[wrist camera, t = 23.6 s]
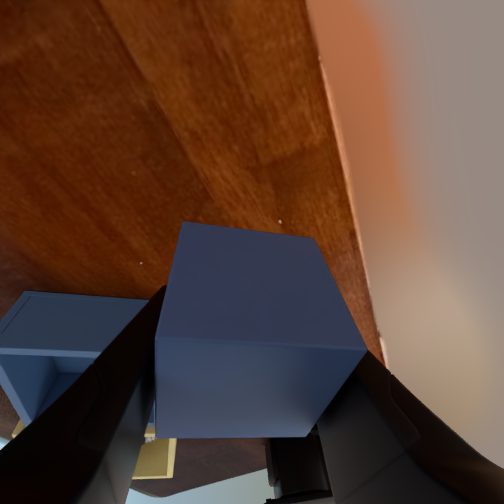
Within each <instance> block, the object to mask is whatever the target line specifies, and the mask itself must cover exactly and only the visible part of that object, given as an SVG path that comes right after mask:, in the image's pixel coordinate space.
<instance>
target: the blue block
mask: <svg viewBox="0 0 504 504" xmlns="http://www.w3.org/2000/svg"><path fill="white" fill-rule="evenodd" d="M366 352H367V347H366V344H365V342H364V340H363V338H362V336H361V334H360V332H359V330H358V328H357V326H356V324H355V322H354V320H353V318H352V316H351V313H350V311H349V309H348V307H347V305H346V303H345V301H344V299H343V297H342V295H341V293H340V291H339V289H338V287H337V285H336V282H335V280H334V278H333V276H332V274H331V272H330V270H329V268H328V266H327V264H326V262H325V260H324V258H323V256H322V254H321V251H320V249H319V247H318V245H317V243H316V241H315V239H314V238H309V237H301V236H293V235H286V234H278V233H270V232H262V231H254V230H247V229H239V228H231V227H223V226H215V225H208V224H200V223H192V222H183V223H182V226H181V230H180V234H179V238H178V243H177V247H176V251H175V255H174V259H173V264H172V268H171V272H170V276H169V280H168V285H167V289H166V293H165V297H164V301H163V306H162V310H161V314H160V318H159V322H158V327H157V331H156V335H155V438H157V439H167V438H257V437H306V436H307V434H308V433H309V432H310V430H311V429H312V427H313V426H314V425H315V423H316V422H317V420H318V419H319V417H320V416H321V415H322V413H323V412H324V410H325V409H326V408H327V406H328V405H329V403H330V402H331V401H332V399H333V398H334V396H335V395H336V394H337V392H338V391H339V389H340V388H341V387H342V385H343V384H344V382H345V381H346V380H347V378H348V377H349V375H350V374H351V373H352V371H353V370H354V368H355V367H356V366H357V364H358V363H359V361H360V360H361V359H362V357H363V356H364V354H365V353H366Z"/></svg>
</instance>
